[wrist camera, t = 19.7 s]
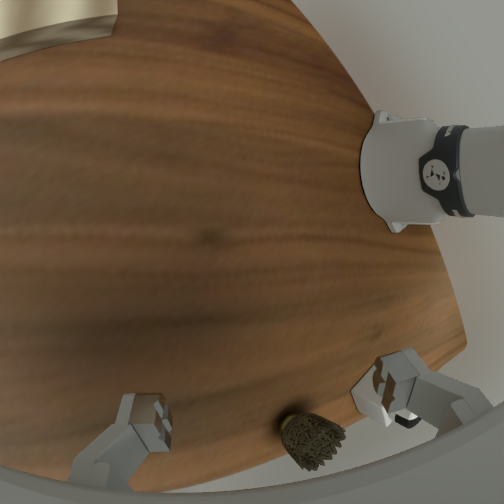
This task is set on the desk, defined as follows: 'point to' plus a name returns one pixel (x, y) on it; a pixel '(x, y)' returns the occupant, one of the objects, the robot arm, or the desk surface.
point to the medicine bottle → (378, 404)
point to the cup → (310, 438)
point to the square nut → (52, 23)
